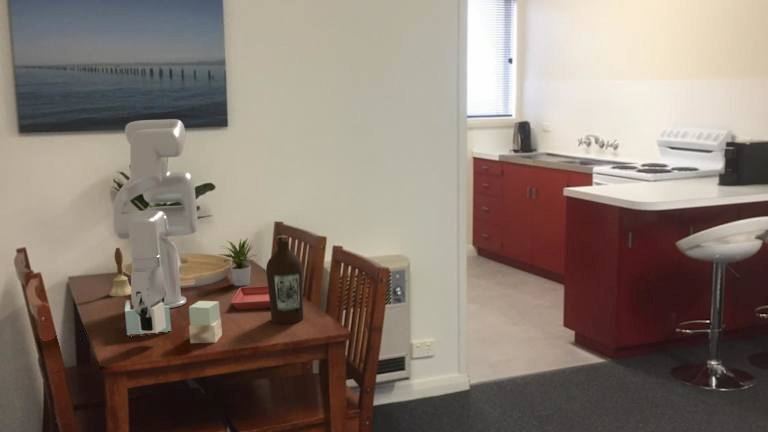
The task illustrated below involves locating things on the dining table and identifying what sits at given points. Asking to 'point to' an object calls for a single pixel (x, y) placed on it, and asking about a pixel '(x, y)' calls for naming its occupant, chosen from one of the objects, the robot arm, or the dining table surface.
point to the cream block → (156, 318)
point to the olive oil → (285, 284)
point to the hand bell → (120, 278)
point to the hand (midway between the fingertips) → (152, 326)
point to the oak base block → (205, 333)
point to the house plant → (239, 263)
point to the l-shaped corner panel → (133, 320)
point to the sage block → (204, 313)
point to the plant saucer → (252, 298)
